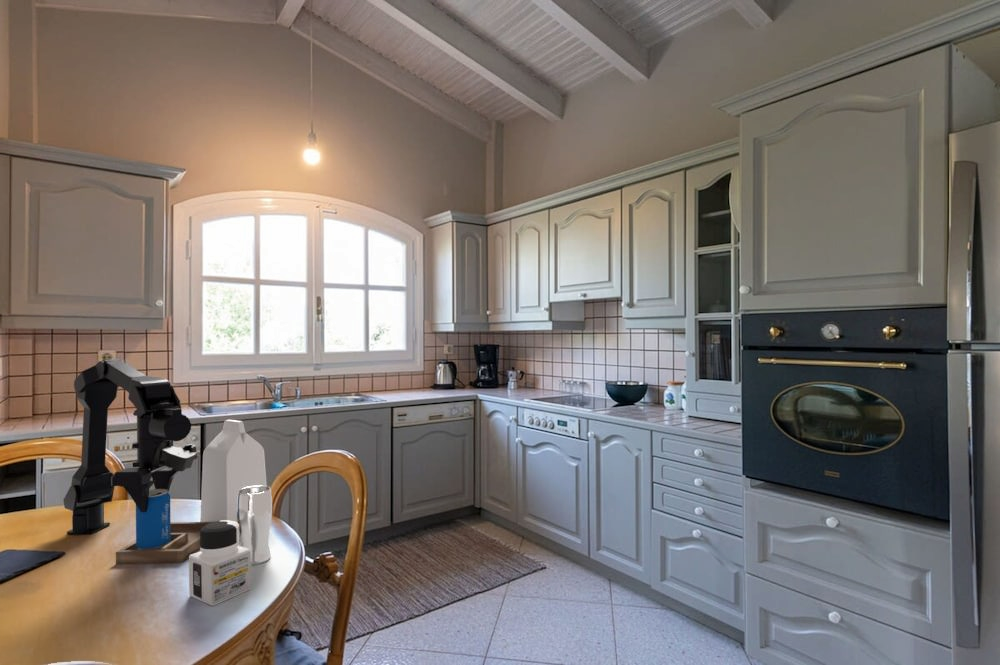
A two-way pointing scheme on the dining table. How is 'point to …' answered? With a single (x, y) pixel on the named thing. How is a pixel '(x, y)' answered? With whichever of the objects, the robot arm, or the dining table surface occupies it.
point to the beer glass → (255, 521)
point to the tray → (166, 546)
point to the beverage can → (154, 521)
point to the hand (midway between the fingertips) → (153, 507)
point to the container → (219, 564)
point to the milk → (229, 471)
